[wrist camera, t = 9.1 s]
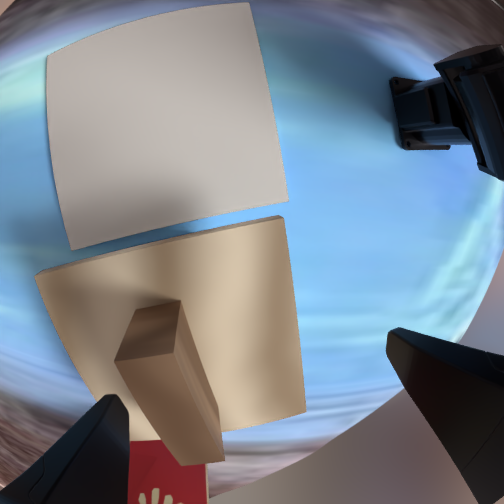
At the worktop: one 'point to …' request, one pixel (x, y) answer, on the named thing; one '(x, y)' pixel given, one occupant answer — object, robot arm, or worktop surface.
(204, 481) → the milk carton
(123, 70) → the tray
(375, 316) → the worktop surface
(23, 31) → the worktop surface
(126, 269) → the lid
